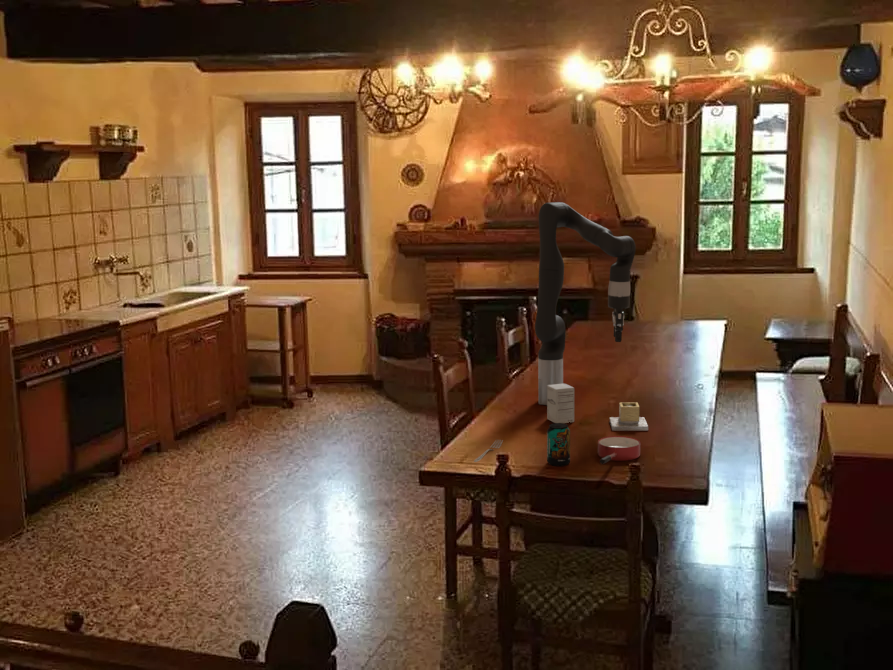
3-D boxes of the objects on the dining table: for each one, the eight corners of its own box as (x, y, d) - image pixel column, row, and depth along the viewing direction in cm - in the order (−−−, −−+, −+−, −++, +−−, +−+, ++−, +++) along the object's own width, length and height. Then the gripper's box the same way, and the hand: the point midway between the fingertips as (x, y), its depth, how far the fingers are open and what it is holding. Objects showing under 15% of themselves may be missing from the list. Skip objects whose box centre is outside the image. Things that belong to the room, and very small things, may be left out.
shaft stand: (612, 430, 347) (612, 410, 346) (609, 421, 359) (609, 402, 358) (648, 430, 346) (648, 410, 345) (644, 421, 358) (644, 401, 357)
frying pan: (633, 482, 294) (633, 460, 293) (588, 479, 297) (588, 458, 296) (641, 450, 324) (641, 430, 323) (600, 448, 328) (600, 429, 326)
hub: (620, 421, 349) (620, 406, 348) (619, 416, 355) (619, 402, 355) (639, 421, 349) (639, 406, 348) (637, 416, 355) (637, 402, 354)
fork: (466, 465, 314) (465, 459, 314) (495, 444, 336) (495, 439, 335) (475, 466, 313) (475, 460, 312) (504, 445, 334) (504, 440, 334)
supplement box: (546, 419, 363) (546, 384, 361) (565, 417, 366) (565, 382, 364) (556, 424, 357) (555, 389, 354) (575, 422, 359) (575, 387, 357)
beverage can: (566, 467, 308) (566, 429, 306) (544, 465, 310) (544, 427, 308) (572, 461, 314) (572, 423, 312) (550, 459, 317) (550, 421, 315)
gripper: (607, 290, 364) (605, 335, 367) (609, 296, 350) (607, 343, 353) (628, 290, 363) (626, 335, 366) (631, 297, 349) (629, 343, 352)
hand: (617, 339), depth 360 cm, fingers open, 8 cm apart
